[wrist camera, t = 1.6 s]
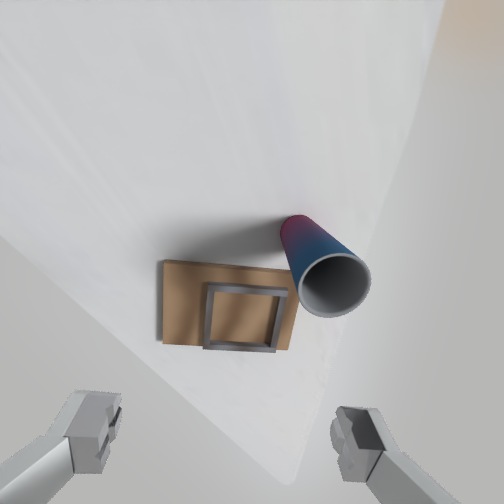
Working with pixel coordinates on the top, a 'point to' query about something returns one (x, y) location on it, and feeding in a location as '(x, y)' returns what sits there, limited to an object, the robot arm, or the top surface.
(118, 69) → the top surface
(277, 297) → the board
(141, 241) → the top surface
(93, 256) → the top surface
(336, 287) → the cup
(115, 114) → the top surface
